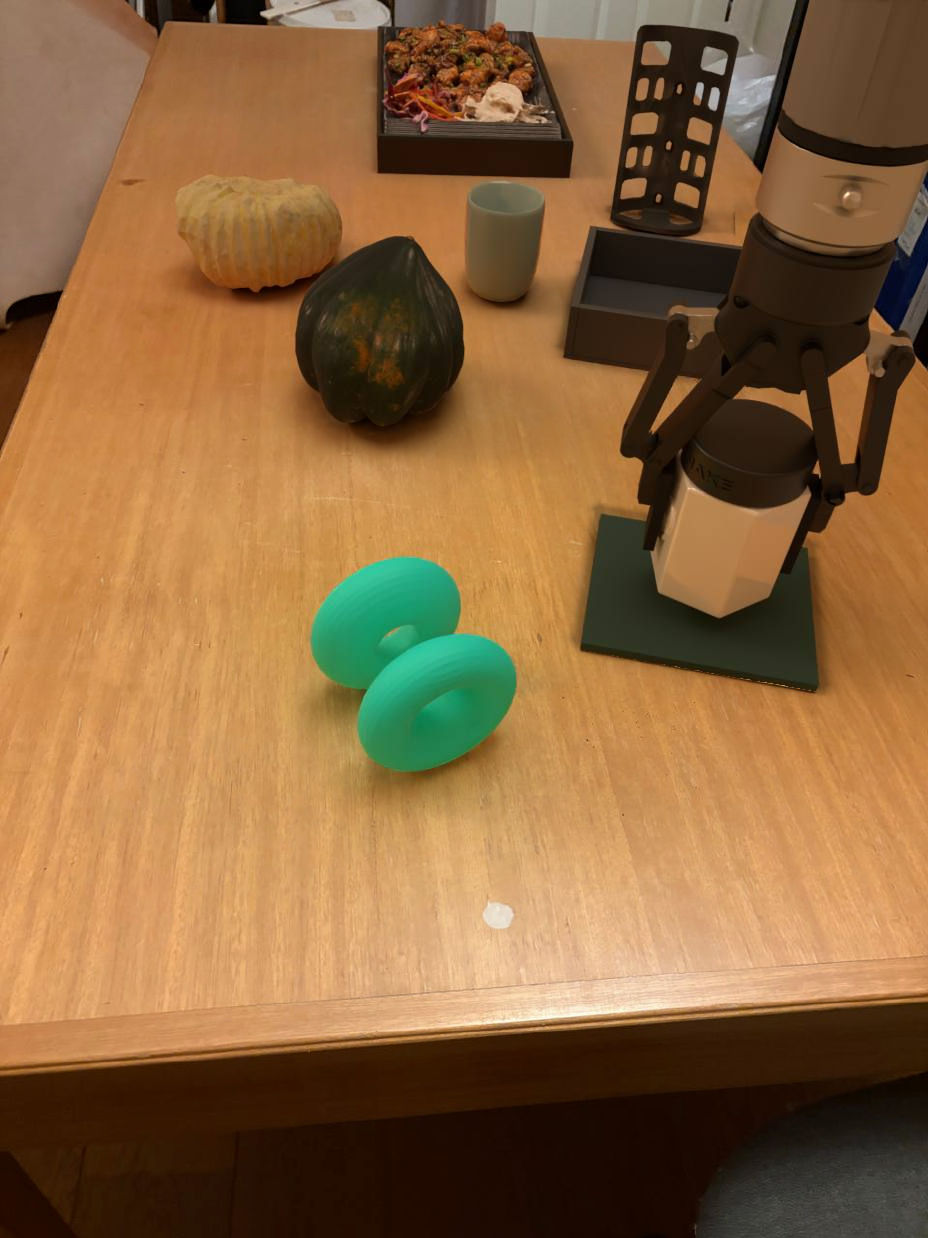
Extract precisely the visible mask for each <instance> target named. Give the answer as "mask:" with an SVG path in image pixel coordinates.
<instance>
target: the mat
mask: <svg viewBox="0 0 928 1238" xmlns="http://www.w3.org/2000/svg"><path fill="white" fill-rule="evenodd" d="M598 521H599V522H598V528H597V534H596V542H595V548H594V553H593V555H594V556H593V560H592V561H593V562H592V567H591V575H590V582H589V587H588V594H587V600H586V607H585V614H584V622H583V626H582V634H581V640H580V647H579V650H580V649H581V650H580V651H583V650H586V651H585V652H588V651H591V652H590V653H594V652H596V653H595V654H599V653H601V654H600V655H605V654H606V655H605V656H610V655H614V656H613V657H616V656H619V657H618V658H621V657H623V658H622V659H627V658H629V659H628V660H632V659H636V660H635V661H638V660H639V662H643V661H646V662H645V663H649V662H650V663H649V664H654V663H655V664H654V665H660V664H665V665H668V666H667V667H671V666H677V667H680V668H679V669H682V668H687V669H690V670H689V671H693V670H699V671H702V672H701V673H704V672H709V673H714V674H713V675H715V674H719V675H718V676H720V675H725V676H724V677H726V676H730V677H729V678H731V677H735V678H734V679H737V678H743V679H750V680H752V681H751V682H754V681H760V682H767V683H773V684H779V685H785V686H788V687H794V688H800V689H805V690H811V691H816V692H817V691H818V689H819V687H820V682H819V681H820V679H819V669H818V656H817V644H816V633H815V622H814V621H815V620H814V609H813V596H812V595H813V594H812V585H811V573H810V571H811V570H810V562H809V561H810V560H809V548H808V547H804V546H802V548H801V550H800V552H799V555H798V557H797V559H796V562H795V564H794V566H793V569H792V571H791V573H790V575H789V574H783V573H779V574H778V577H777V579H776V581H775V584H774V586H773V589H772V591H771V594H770V596H769V597H768V598H766V599H764V600H761V601H759V602H757V603H754V604H752V605H750V606H747V607H745V608H743V609H740V610H738V611H736V612H733V613H731V614H729V615H726V616H724V617H722V618H717V617H714V616H712V615H710V614H707V613H705V612H702V611H700V610H698V609H695V608H693V607H691V606H688V605H686V604H684V603H681V602H679V601H676V600H674V599H672V598H669V597H667V596H665V595H662V594H660V593H659V592H658V589H657V584H656V579H655V573H654V568H653V563H652V557H651V552H650V551H648V550H643V542H644V532H645V523H646V520H642V519H637V518H630V517H624V516H618V515H612V514H607V513H600V517H599V520H598ZM665 665H664V666H665ZM687 669H686V670H687ZM709 673H708V674H709ZM743 679H742V680H743Z"/></svg>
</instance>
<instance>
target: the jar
mask: <svg viewBox="0 0 928 1238" xmlns="http://www.w3.org/2000/svg"><path fill="white" fill-rule="evenodd" d="M817 463H818V456H817V450H816V444H815V439H814V433H813V428H812V427H811V426H810V425H809V424H808V423H807V422H805V421H804V420H803V419H802V418H800V417H799V416H798V415H796V414H794V413H792V412H791V411H789V410H787V409H784V408H782V407H780V406H778V405H775V404H773V403H769V402H765V401H761V400H755V399H749V398H733V399H731V400H729V399H728V400H727V401H726V402H725V403H724V404H723V405H722V406H721V407H720V408H719V409H718V410H717V411H716V412H715V413H714V415H713V416H712V417H711V418H710V419H709V420H708V421H707V422H706V423H705V424H704V425H703V426H702V427H701V428H700V429H699V431H698V432H697V433H696V434H695V435H694V436H693V437H692V438H691V439H690V440H689V441H688V442H687V443H686V444H685V445H684V446H683V448H682V449H681V450H680V451H679V452H678V453H677V454H676V455H675V470H674V478H673V482H672V486H671V489H670V493H669V497H668V500H667V504H666V508H665V511H664V515H663V519H662V522H661V526H660V530H659V533H658V537H657V541H656V545H655V548H654V551H650V552H651V557H652V563H653V568H654V573H655V579H656V584H657V589H658V592H659V593H660V594H662V595H665V596H667V597H669V598H672V599H674V600H676V601H679V602H681V603H684V604H686V605H688V606H691V607H693V608H695V609H698V610H700V611H702V612H705V613H707V614H710V615H712V616H714V617H717V618H722V617H724V616H726V615H729V614H731V613H733V612H736V611H738V610H740V609H743V608H745V607H747V606H750V605H752V604H754V603H757V602H759V601H761V600H764V599H766V598H768V597H769V596H770V594H771V591H772V589H773V586H774V584H775V581H776V579H777V577H778V574H779V572H780V569H781V567H782V565H783V562H784V560H785V557H786V555H787V553H788V550H789V548H790V545H791V543H792V540H793V538H794V536H795V533H796V531H797V528H798V526H799V524H800V521H801V519H802V516H803V514H804V512H805V509H806V507H807V504H808V502H809V500H810V497H811V492H810V489H809V487H808V483H809V480H810V478H811V475H812V473H814V470H815V468H816V466H817Z"/></svg>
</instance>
